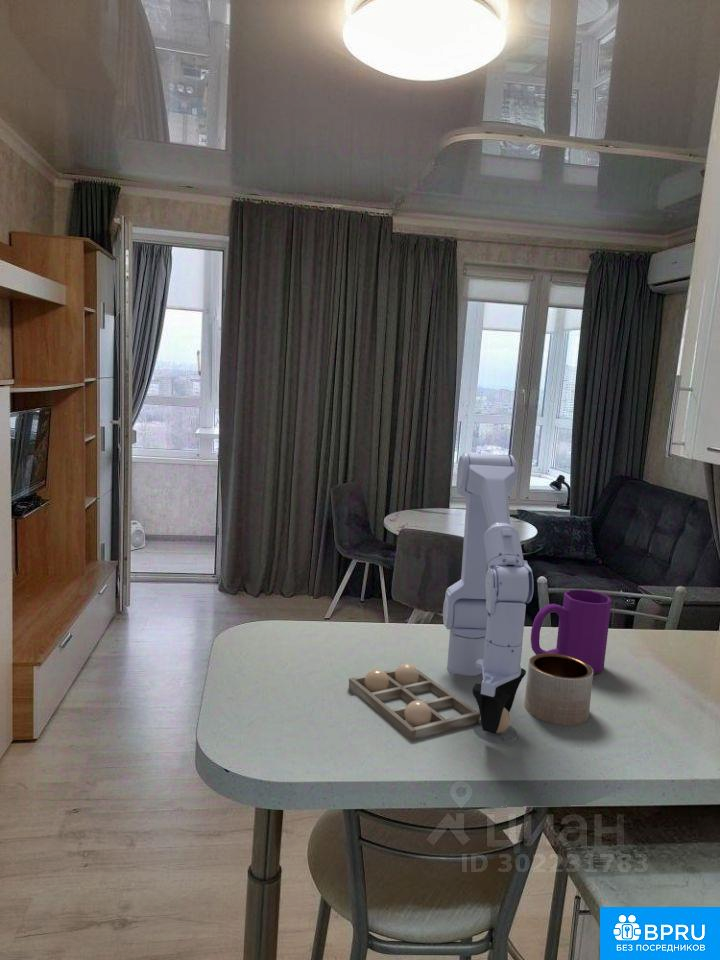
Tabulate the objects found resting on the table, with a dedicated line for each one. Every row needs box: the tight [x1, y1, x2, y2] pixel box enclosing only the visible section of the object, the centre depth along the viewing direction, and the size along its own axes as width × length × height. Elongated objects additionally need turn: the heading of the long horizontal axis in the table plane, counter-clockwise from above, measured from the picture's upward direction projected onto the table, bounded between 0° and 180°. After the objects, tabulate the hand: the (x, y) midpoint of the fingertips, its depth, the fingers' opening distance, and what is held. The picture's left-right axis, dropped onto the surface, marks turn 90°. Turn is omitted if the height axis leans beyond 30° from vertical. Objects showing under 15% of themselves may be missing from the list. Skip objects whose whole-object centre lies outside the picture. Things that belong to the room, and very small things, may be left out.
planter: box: [523, 653, 594, 726], centre depth 120 cm, size 11×11×10 cm
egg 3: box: [404, 700, 431, 727], centre depth 112 cm, size 4×4×4 cm
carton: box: [348, 668, 481, 741], centre depth 120 cm, size 14×20×3 cm
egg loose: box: [496, 707, 512, 733], centre depth 112 cm, size 4×4×4 cm
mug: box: [530, 589, 612, 675], centre depth 142 cm, size 9×16×15 cm, turn 96°
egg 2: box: [395, 662, 419, 686], centre depth 127 cm, size 4×4×4 cm
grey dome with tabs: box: [473, 719, 519, 744], centre depth 112 cm, size 7×7×2 cm
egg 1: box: [364, 668, 389, 693], centre depth 123 cm, size 4×4×4 cm
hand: (496, 720), depth 112 cm, fingers open, 7 cm apart
